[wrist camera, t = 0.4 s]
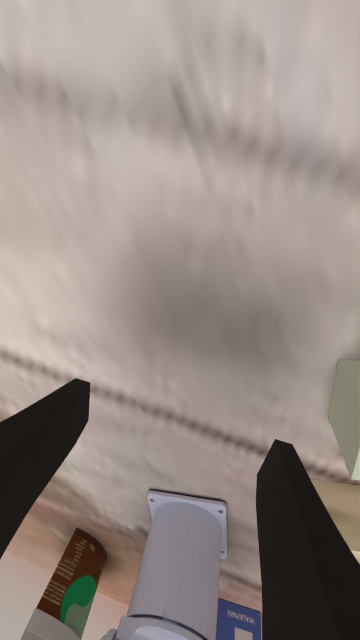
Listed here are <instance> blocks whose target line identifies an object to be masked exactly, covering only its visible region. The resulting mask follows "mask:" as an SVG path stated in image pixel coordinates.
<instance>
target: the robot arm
mask: <svg viewBox="0 0 360 640" xmlns="http://www.w3.org/2000/svg"><path fill="white" fill-rule="evenodd" d="M89 398H90V382H86V381H83V380H80V379H74V380H72V381H70V382H69V383H67V384H65V385H64V386H62V387H60V388H59V389H57V390H56V391H54V392H52V393H51V394H49V395H47V396H46V397H44V398H42V399H41V400H39V401H37V402H36V403H34V404H32V405H31V406H29V407H27V408H25V409H24V410H22V411H20V412H18V413H17V414H15V415H13V416H11V417H9V418H7V419H5V420H4V421H2V422H0V559H1V557H2V555H3V553H4V552H5V550H6V548H7V546H8V545H9V543H10V541H11V540H12V538H13V536H14V535H15V533H16V531H17V530H18V528H19V526H20V524H21V523H22V521H23V519H24V518H25V516H26V514H27V513H28V511H29V510H30V508H31V507H32V505H33V504H34V502H35V501H36V499H37V498H38V496H39V495H40V494H41V492H42V491H43V489H44V488H45V487H46V485H47V484H48V482H49V481H50V480H51V478H52V477H53V475H54V474H55V472H56V471H57V470H58V468H59V467H60V465H61V464H62V463H63V461H64V460H65V458H66V457H67V455H68V454H69V453H70V451H71V450H72V448H73V447H74V445H75V444H76V442H77V440H78V438H79V437H80V435H81V433H82V431H83V429H84V427H85V425H86V424H87V422H88V417H89ZM147 499H148V504H149V509H150V514H151V519H152V525H151V528H150V532H149V535H148V539H147V543H146V546H145V550H144V554H143V557H142V561H141V565H140V568H139V572H138V576H137V579H136V583H135V587H134V590H133V594H132V598H131V601H130V605H129V609H128V612H127V616H121V620H120V623H119V627H118V630H115V629H110V630H109V631H108V632H107V634H106V635H104V636H103V637H102V638H101V639H100V640H216V624H217V608H218V591H219V575H220V559H226V558H227V528H226V504H225V503H223V502H221V501H214V500H208V499H202V498H195V497H189V496H183V495H176V494H170V493H164V492H157V491H148V494H147ZM256 512H257V526H258V540H259V553H260V566H261V580H262V640H360V564H359V562H358V561H357V559H356V558H355V556H354V555H353V553H352V551H351V550H350V548H349V547H348V545H347V543H346V542H345V540H344V538H343V537H342V535H341V533H340V532H339V530H338V528H337V527H336V525H335V523H334V521H333V520H332V518H331V516H330V514H329V513H328V511H327V509H326V507H325V505H324V504H323V502H322V500H321V498H320V496H319V495H318V493H317V491H316V489H315V487H314V485H313V483H312V481H311V480H310V478H309V476H308V474H307V472H306V470H305V468H304V466H303V464H302V462H301V460H300V458H299V456H298V454H297V452H296V450H295V449H294V447H293V445H292V444H290V443H286V442H283V441H280V440H276V439H275V441H274V443H273V445H272V446H271V448H270V450H269V452H268V454H267V456H266V458H265V460H264V462H263V464H262V466H261V468H260V470H259V472H258V474H257V489H256Z"/></svg>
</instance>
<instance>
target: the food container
mask: <svg viewBox="0 0 360 640" xmlns="http://www.w3.org/2000/svg"><path fill="white" fill-rule="evenodd" d="M105 560H106V552H105V550H104V548H103V546H102V545H101V544H100V543H99V542H98V541H97V540H96V539H94V538H93V537H92V536H90V535H89V534H87V533H86V532H84V531H82V530H80V529H78V528H76V530H75V532H74V534H73V536H72V538H71V540H70V542H69V544H68V546H67V548H66V550H65V552H64V554H63V556H62V558H61V560H60V562H59V564H58V566H57V568H56V570H55V572H54V574H53V576H52V578H51V580H50V582H49V584H48V586H47V588H46V590H45V592H44V594H43V596H42V598H41V600H40V602H39V604H38V606H37V608H35V610H34V612H33V614H32V616H31V619H30V620H29V623H28V625H27V627H26V629H25V631H24V633H23V635H22V637H21V639H22V640H81V638H82V634H83V631H84V628H85V625H86V621H87V618H88V615H89V612H90V609H91V605H92V602H93V599H94V596H95V593H96V589H97V586H98V583H99V580H100V577H101V573H102V570H103V567H104V564H105Z"/></svg>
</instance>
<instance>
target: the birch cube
mask: <svg viewBox="0 0 360 640" xmlns="http://www.w3.org/2000/svg"><path fill="white" fill-rule="evenodd" d="M310 480H311V481H312V483H313V485H314V487H315V489H316V491H317V493H318V495H319V496H320V498H321V500H322V502H323V504H324V505H325V507H326V509H327V511H328V513H329V514H330V516H331V518H332V520H333V521H334V523H335V525H336V527H337V528H338V530H339V532H340V533H341V535H342V537H343V538H344V540H345V542H346V543H347V545H348V547H349V548H350V550H351V551H352V553H353V555H354V556H355V558H356V559H357V561H358V562H359V564H360V485H352V484H345V483H337V482H329V481H322V480H314V479H310Z"/></svg>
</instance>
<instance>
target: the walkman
mask: <svg viewBox="0 0 360 640" xmlns="http://www.w3.org/2000/svg"><path fill="white" fill-rule="evenodd" d="M216 640H261V624H260V612H257V611H254V610H251V609H248V608H245V607H242V606H239V605H236V604H233V603H230V602H227V601H224V600H221V599H218V608H217V624H216Z"/></svg>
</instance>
